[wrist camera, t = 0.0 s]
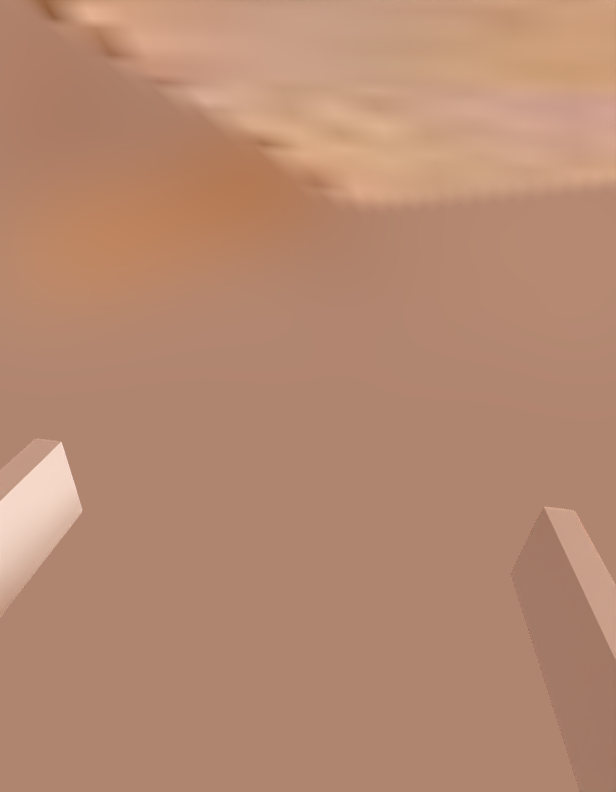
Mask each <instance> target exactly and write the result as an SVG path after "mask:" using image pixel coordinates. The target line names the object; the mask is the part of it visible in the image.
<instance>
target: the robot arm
mask: <svg viewBox="0 0 616 792" xmlns="http://www.w3.org/2000/svg"><path fill="white" fill-rule="evenodd" d="M82 511H83V510H82V507H81V504H80V500H79V497H78V494H77V491H76V487H75V484H74V481H73V478H72V474H71V471H70V468H69V465H68V461H67V458H66V455H65V452H64V448H63V446H62V442H60V441H53V440H45V439H38V438H35V439H34V440H33V441H32V442H31V443H30V444H29V445H28V446H27V447H25V448H24V449H23V450H22V451H21V452H20V453H19V454H18V455H16V456H15V457H14V458H13V459H12V460H11V461H10V462H9V463H7V464H6V465H5V466H4V467H3V468H2V469H1V470H0V617H1V616H2V614H3V613H4V612H5V610H6V609H7V608H8V607H9V605H10V604H11V603H12V601H13V600H14V599H15V598H16V596H17V595H18V594H19V592H20V591H21V590H22V589H23V587H24V586H25V585H26V583H27V582H28V581H29V580H30V578H31V577H32V576H33V574H34V573H35V572H36V571H37V569H38V568H39V567H40V565H41V564H42V563H43V562H44V560H45V559H46V558H47V556H48V555H49V554H50V553H51V551H52V550H53V549H54V547H55V546H56V545H57V543H58V542H59V541H60V540H61V538H62V537H63V536H64V535H65V533H66V532H67V531H68V529H69V528H70V527H71V526H72V524H73V523H74V522H75V520H76V519H77V518H78V517H79V515H80V514H81V513H82ZM510 574H511V577H512V580H513V583H514V587H515V590H516V593H517V596H518V599H519V603H520V605H521V609H522V612H523V615H524V618H525V621H526V624H527V628H528V631H529V634H530V637H531V640H532V643H533V646H534V650H535V653H536V656H537V659H538V662H539V665H540V668H541V671H542V675H543V678H544V681H545V684H546V687H547V690H548V694H549V697H550V700H551V703H552V706H553V709H554V712H555V715H556V719H557V722H558V725H559V728H560V731H561V734H562V737H563V740H564V744H565V747H566V750H567V753H568V756H569V759H570V763H571V765H572V769H573V772H574V775H575V778H576V781H577V784H578V788H579V791H580V792H616V585H615V584H614V582H613V580H612V578H611V576H610V574H609V572H608V571H607V569H606V567H605V565H604V563H603V561H602V560H601V558H600V556H599V554H598V552H597V550H596V549H595V547H594V545H593V544H592V541H591V540H590V538H589V536H588V534H587V532H586V530H585V529H584V527H583V525H582V523H581V521H580V519H579V518H578V516H577V514H576V512H575V511H574V510H568V509H561V508H553V507H546V506H544V507H543V509H542V511H541V513H540V515H539V517H538V519H537V521H536V523H535V525H534V527H533V529H532V531H531V533H530V535H529V537H528V539H527V541H526V543H525V545H524V547H523V549H522V551H521V553H520V555H519V557H518V559H517V561H516V563H515V565H514V567H513V569H512V571H511V573H510Z"/></svg>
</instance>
